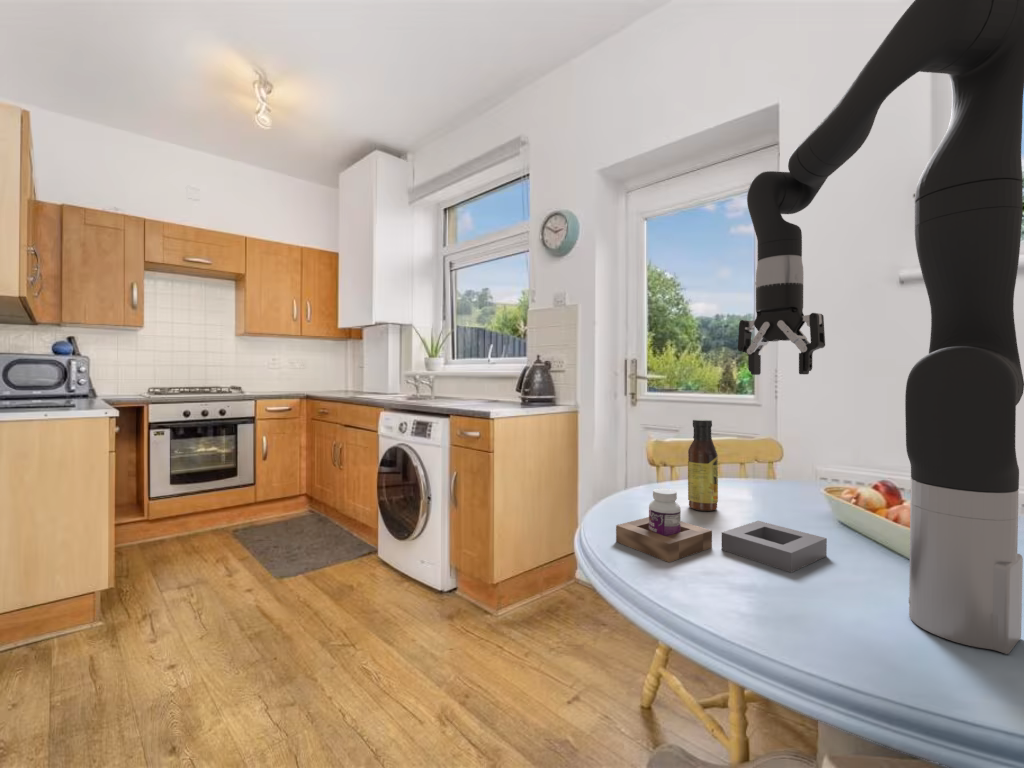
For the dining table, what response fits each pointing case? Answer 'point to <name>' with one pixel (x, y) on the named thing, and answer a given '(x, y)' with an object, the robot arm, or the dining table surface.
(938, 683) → the dining table surface
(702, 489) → the sauce bottle
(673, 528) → the pill bottle
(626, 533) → the dock
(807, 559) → the grey square frame
